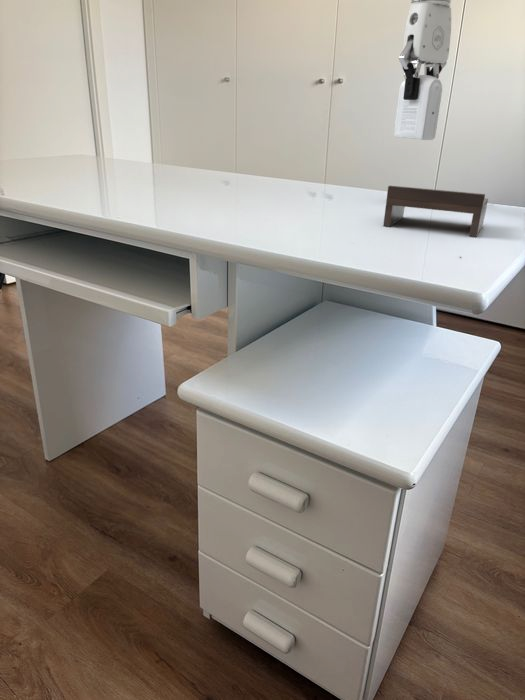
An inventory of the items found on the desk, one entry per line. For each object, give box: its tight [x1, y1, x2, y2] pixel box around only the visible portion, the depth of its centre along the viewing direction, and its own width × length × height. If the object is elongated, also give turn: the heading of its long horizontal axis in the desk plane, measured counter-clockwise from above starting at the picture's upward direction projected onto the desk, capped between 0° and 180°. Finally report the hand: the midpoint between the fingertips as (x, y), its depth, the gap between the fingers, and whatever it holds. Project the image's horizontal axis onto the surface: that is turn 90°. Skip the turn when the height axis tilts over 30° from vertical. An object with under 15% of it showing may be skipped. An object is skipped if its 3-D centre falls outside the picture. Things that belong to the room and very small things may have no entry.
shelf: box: [382, 185, 489, 238], centre depth 97 cm, size 11×16×7 cm
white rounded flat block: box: [393, 74, 443, 141], centre depth 114 cm, size 10×4×12 cm, turn 27°
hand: (418, 99), depth 113 cm, fingers closed on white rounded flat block, 5 cm apart
